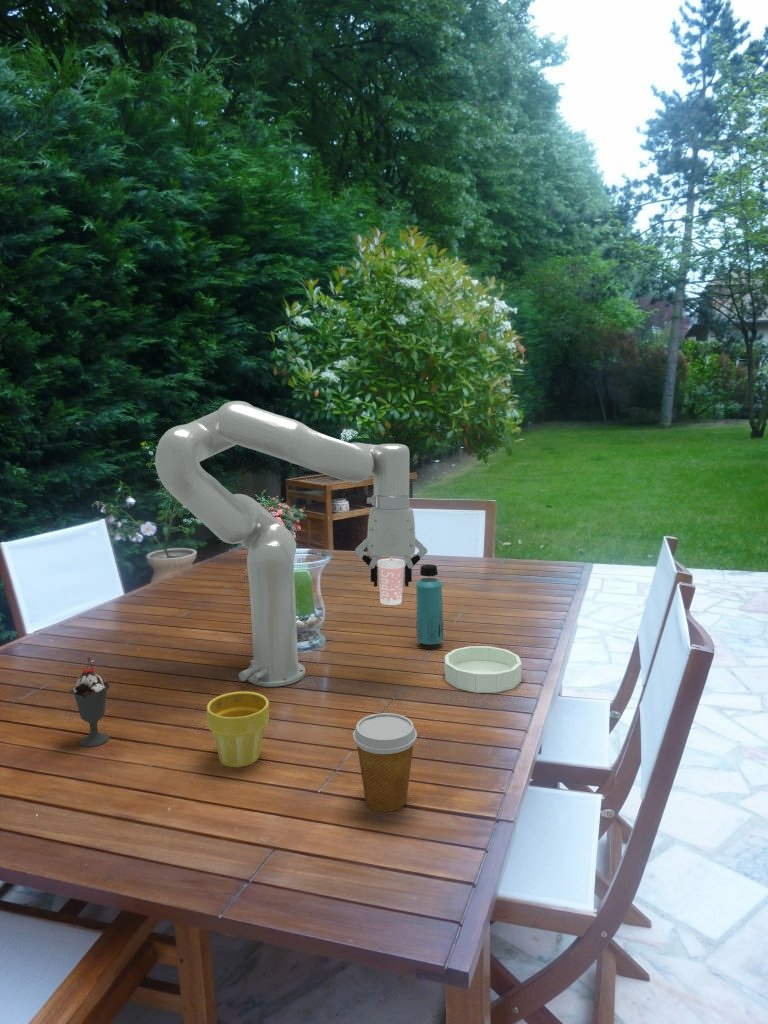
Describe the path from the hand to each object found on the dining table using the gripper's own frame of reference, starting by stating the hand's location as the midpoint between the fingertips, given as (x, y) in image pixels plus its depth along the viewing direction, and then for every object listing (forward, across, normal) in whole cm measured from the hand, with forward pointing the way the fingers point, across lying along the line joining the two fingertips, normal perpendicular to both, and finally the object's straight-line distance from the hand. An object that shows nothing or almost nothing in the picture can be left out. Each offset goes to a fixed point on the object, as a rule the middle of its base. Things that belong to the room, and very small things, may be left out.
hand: (391, 584), depth 153 cm
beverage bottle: (+20, +10, +16) cm, 27 cm away
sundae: (+21, -54, -29) cm, 65 cm away
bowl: (+20, +20, -4) cm, 28 cm away
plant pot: (+21, -26, -36) cm, 49 cm away
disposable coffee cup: (+20, -2, -50) cm, 54 cm away
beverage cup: (+4, 0, 0) cm, 4 cm away
